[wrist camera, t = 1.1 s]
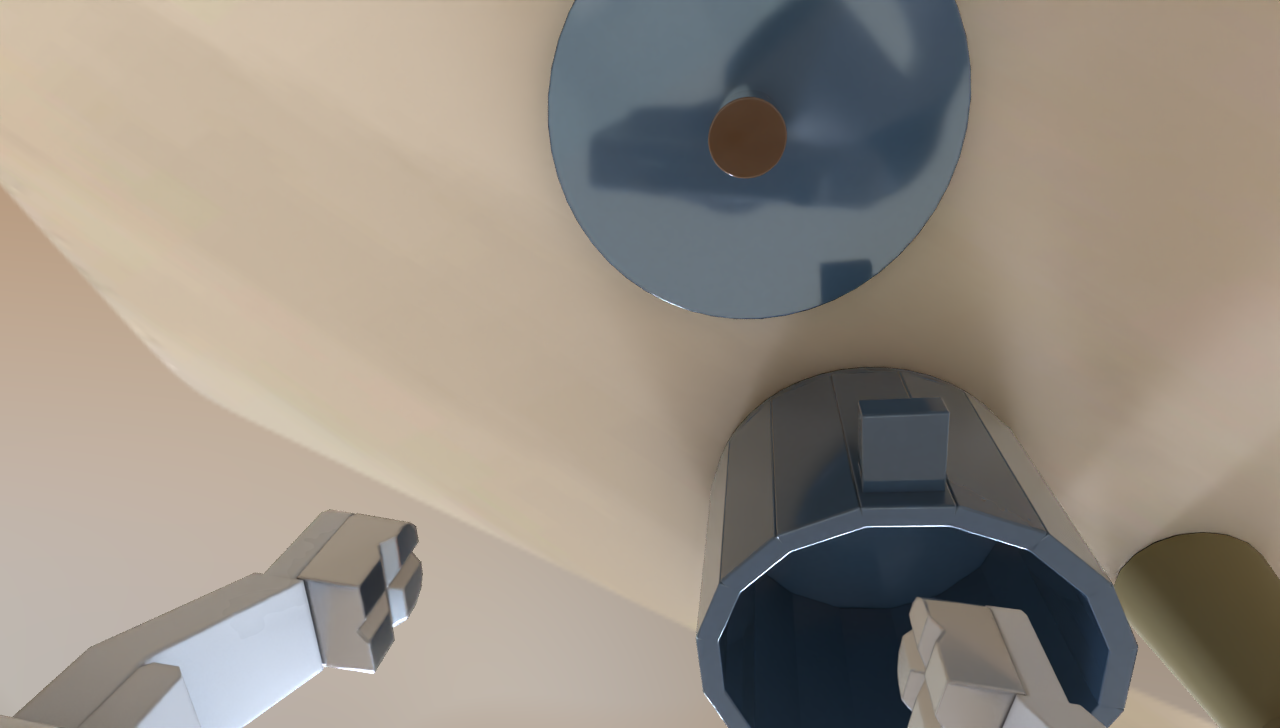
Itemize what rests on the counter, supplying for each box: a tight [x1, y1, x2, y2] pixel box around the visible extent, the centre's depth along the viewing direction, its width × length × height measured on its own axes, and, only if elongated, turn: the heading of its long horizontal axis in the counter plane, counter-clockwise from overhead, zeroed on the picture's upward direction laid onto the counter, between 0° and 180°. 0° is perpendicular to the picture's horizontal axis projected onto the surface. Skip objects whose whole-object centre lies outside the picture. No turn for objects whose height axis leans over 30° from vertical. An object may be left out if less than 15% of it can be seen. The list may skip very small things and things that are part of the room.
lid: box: [548, 0, 971, 319], centre depth 23 cm, size 15×15×5 cm
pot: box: [696, 367, 1138, 728], centre depth 27 cm, size 14×19×10 cm
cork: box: [1114, 532, 1280, 728], centre depth 25 cm, size 6×6×11 cm
